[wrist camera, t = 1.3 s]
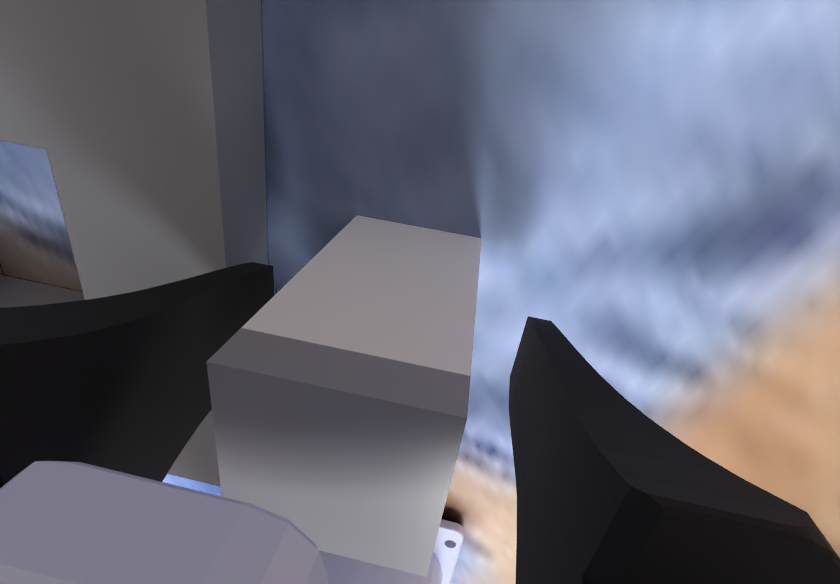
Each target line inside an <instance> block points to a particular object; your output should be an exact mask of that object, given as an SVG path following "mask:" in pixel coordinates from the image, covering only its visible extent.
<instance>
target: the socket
mask: <svg viewBox="0 0 840 584" xmlns="http://www.w3.org/2000/svg"><path fill="white" fill-rule="evenodd" d="M0 141H6V142H11V143H17V144H22V145H27V146H33V147H38V148H44V149H47V153H48V157H49V161H50V165H51V169H52V173H53V177H54V181H55V185H56V189H57V193H58V197H59V201H60V204H61V208H62V212H63V216H64V220H65V224H66V228H67V232H68V236H69V240H70V244H71V248H72V252H73V256H74V260H75V264H76V267H77V271H78V275H79V279H80V283H81V287H82V291H83V292H80V291H76V290H71V289H66V288H61V287H56V286H52V285H47V284H42V283H37V282H33V281H28V280H23V279H18V278H14V277H9V276H4V275H3V273H2V270H1V267H0V308H5V307H21V306H35V305H45V304H54V303H63V302H71V301H80V300H88V299H95V298H101V297H107V296H113V295H119V294H124V293H129V292H134V291H139V290H144V289H148V288H152V287H156V286H160V285H164V284H168V283H172V282H176V281H180V280H184V279H187V278H191V277H195V276H198V275H202V274H205V273H209V272H212V271H216V270H219V269H223V268H227V267H231V266H235V265H239V264H243V263H250V262H255V263H260V264H265V265H268V241H267V204H266V167H265V131H264V94H263V57H262V20H261V0H0ZM167 474H171V475H175V476H179V477H183V478H187V479H192V480H196V481H200V482H204V483H208V484H212V485H216V486H220V477H219V468H218V459H217V450H216V441H215V433H214V424H213V415H212V410H211V411H210V412H209V413H208V415H207V416H206V417H205V418H204V420H203V421H202V422H201V424H200V425H199V426H198V428H197V429H196V431H195V432H194V434H193V435H192V437H191V438H190V440H189V441H188V442H187V444H186V445H185V447H184V448H183V450H182V451H181V453H180V454H179V456H178V457H177V459H176V460H175V462H174V464H173V465H172V467H171V468H170V470H169V471H168V473H167Z"/></svg>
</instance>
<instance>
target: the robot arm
mask: <svg viewBox="0 0 840 584" xmlns="http://www.w3.org/2000/svg"><path fill="white" fill-rule="evenodd" d="M273 296H274V281H273V266H270V265H265V264H260V263H255V262H250V263H243V264H239V265H235V266H231V267H227V268H223V269H219V270H216V271H212V272H209V273H205V274H202V275H198V276H195V277H191V278H187V279H184V280H180V281H176V282H172V283H168V284H164V285H160V286H156V287H152V288H148V289H144V290H139V291H134V292H129V293H124V294H119V295H113V296H107V297H101V298H95V299H88V300H80V301H71V302H63V303H54V304H45V305H35V306H21V307H5V308H0V584H450V582H451V579H452V576H453V572H454V569H455V566H456V562H457V559H458V556H459V552H460V549H461V546H462V542H463V539H464V529H463V527H462V526H461V525H459V524H458V523H455V522H451V521H447V520H443V519H441V523H440V527H439V531H438V535H437V539H436V543H435V547H434V550H433V554H432V558H431V562H430V566H429V570H428V574H427V577H424V576H420V575H416V574H412V573H408V572H404V571H400V570H396V569H392V568H388V567H384V566H380V565H376V564H372V563H368V562H364V561H360V560H356V559H352V558H348V557H344V556H340V555H336V554H332V553H327V552H323V551H319V550H318V548H317V546H316V545H315V543H314V542H313V541H312V540H311V539H310V538H308V537H307V536H306V535H305V534H304V533H303V532H302V531H301V530H300V529H298V528H297V527H296V526H295V525H294V524H293V523H292V522H291V521H290V520H289V519H286V518H284V517H282V516H279V515H277V514H274V513H272V512H270V511H267V510H265V509H263V508H260V507H258V506H255V505H253V504H250V503H246V502H242V501H238V500H234V499H230V498H225V497H221V496H217V495H213V494H209V493H205V492H201V491H197V490H193V489H188V488H184V487H180V486H176V485H172V484H168V483H164V482H162V481H163V479H164V478H165V476H166V475H167V473H168V471H169V470H170V468H171V467H172V465H173V464H174V462H175V460H176V459H177V457H178V456H179V454H180V453H181V451H182V450H183V448H184V447H185V445H186V444H187V442H188V441H189V440H190V438H191V437H192V435H193V434H194V432H195V431H196V429H197V428H198V426H199V425H200V424H201V422H202V421H203V420H204V418H205V417H206V416H207V415H208V413H209V412H210V411H211V410H212V406H211V397H210V388H209V379H208V370H207V361H208V360H209V359H210V358H211V357H212V356H213V355H214V354H215V353H216V352H217V351H218V350H219V349H220V348H221V347H222V346H223V345H224V344H225V343H226V342H227V341H228V340H229V339H230V338H231V337H232V336H233V335H234V334H235V333H236V332H237V331H238V330H239V329H240V328H242V327H243V326H244V325H245V324H246V323H247V322H248V321H249V320H250V319H251V318H252V317H253V316H254V315H255V314H256V313H257V312H258V311H259V310H260V309H261V308H262V307H263V306H264V305H265V304H266V303H267V302H268V301H269V300H270V299H271V298H272V297H273ZM509 416H510V426H511V436H512V446H513V456H514V465H515V475H516V488H517V554H516V584H840V558H839V556H838V555H837V554H836V552H835V551H834V549H833V548H832V547H831V545H830V544H829V542H828V541H827V540H826V538H825V537H824V535H823V534H822V533H821V531H820V530H819V528H818V527H817V526H816V524H815V523H814V521H813V520H812V519H811V517H810V516H809V514H808V513H807V512H805V511H803V510H801V509H800V508H798V507H796V506H794V505H792V504H790V503H788V502H786V501H784V500H782V499H780V498H778V497H776V496H775V495H773V494H771V493H769V492H767V491H765V490H763V489H761V488H759V487H757V486H755V485H753V484H751V483H750V482H748V481H746V480H744V479H742V478H740V477H739V476H737V475H735V474H733V473H732V472H730V471H728V470H727V469H725V468H723V467H722V466H720V465H718V464H717V463H715V462H713V461H711V460H710V459H708V458H706V457H705V456H703V455H702V454H700V453H699V452H697V451H695V450H694V449H692V448H691V447H689V446H688V445H686V444H685V443H683V442H682V441H680V440H679V439H677V438H676V437H675V436H673V435H672V434H670V433H669V432H667V431H666V430H665V429H663V428H662V427H660V426H659V425H658V424H656V423H655V422H654V421H652V420H651V419H650V418H648V417H647V416H646V415H644V414H643V413H642V412H641V411H640V410H638V409H637V408H636V407H635V406H634V405H632V404H631V403H630V402H629V401H627V400H626V399H625V398H624V397H623V396H622V395H621V394H619V393H618V392H617V391H616V390H615V389H614V388H613V387H612V386H611V385H610V384H609V383H608V382H607V381H606V380H605V379H604V378H603V377H602V376H600V375H599V374H598V373H597V371H596V370H595V369H594V368H593V367H592V366H591V365H590V364H589V363H588V362H587V361H586V360H585V359H584V358H583V357H582V355H581V354H580V353H579V352H578V351H577V350H576V349H575V348H574V346H573V345H572V344H571V343H570V342H569V341H568V340H567V338H566V337H565V336H564V335H563V334H562V333H561V331H560V330H559V329H558V328H557V327H556V326H555V325H554V324H553V323H552V322H551V321H548V320H543V319H538V318H533V317H528V318H527V321H526V325H525V328H524V331H523V335H522V338H521V342H520V345H519V348H518V352H517V355H516V358H515V362H514V365H513V368H512V372H511V375H510V388H509Z"/></svg>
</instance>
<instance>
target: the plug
mask: <svg viewBox="0 0 840 584" xmlns="http://www.w3.org/2000/svg"><path fill="white" fill-rule="evenodd" d="M480 250H481V238H477V237H472V236H467V235H461V234H456V233H450V232H445V231H440V230H434V229H429V228H423V227H418V226H413V225H407V224H402V223H396V222H391V221H386V220H380V219H375V218H369V217H364V216H359V215H357V216H356V217H354V218H353V219H352V220H351V221H350V222H349V223H348V224H347V225H346V226H345V227H344V228H343V229H342V230H341V231H340V232H339V233H338V234H337V235H336V236H335V237H334V238H333V239H332V240H331V241H330V242H329V243H328V244H327V245H326V246H325V247H324V248H323V249H322V250H321V251H320V252H319V253H318V254H316V255H315V256H314V257H313V258H312V259H311V260H310V261H309V262H308V263H307V264H306V265H305V266H304V267H303V268H302V269H301V270H300V271H299V272H298V273H297V274H296V275H295V276H294V277H293V278H292V279H291V280H290V281H289V282H288V283H287V284H286V285H285V286H284V287H283V288H282V289H281V290H280V291H278V292H277V293H276V294H275V295H274V296H273V297H272V298H271V299H270V300H269V301H268V302H267V303H266V304H265V305H264V306H263V307H262V308H261V309H260V310H259V311H258V312H257V313H256V314H255V315H254V316H253V317H252V318H251V319H250V320H249V321H248V322H247V323H246V324H245V325H244V326H243V327H242V328H240V329H239V330H238V331H237V332H236V333H235V334H234V335H233V336H232V337H231V338H230V339H229V340H228V341H227V342H226V343H225V344H224V345H223V346H222V347H221V348H220V349H219V350H218V351H217V352H216V353H215V354H214V355H213V356H212V357H211V358H210V359H209V360H208V361H207V370H208V379H209V388H210V397H211V406H212V415H213V424H214V433H215V441H216V450H217V459H218V468H219V477H220V486H221V495H222V497H225V498H230V499H234V500H238V501H242V502H246V503H250V504H253V505H255V506H258V507H260V508H263V509H265V510H267V511H270V512H272V513H274V514H277V515H279V516H282V517H284V518H286V519H289V520H290V521H291V522H292V523H293V524H294V525H295V526H296V527H297V528H298V529H300V530H301V531H302V532H303V533H304V534H305V535H306V536H307V537H308V538H310V539H311V540H312V541H313V542H314V543H315V545H316V546H317V548H318V550H319V551H323V552H327V553H332V554H336V555H340V556H344V557H348V558H352V559H356V560H360V561H364V562H368V563H372V564H376V565H380V566H384V567H388V568H392V569H396V570H400V571H404V572H408V573H412V574H416V575H420V576H424V577H427V574H428V570H429V566H430V562H431V558H432V554H433V550H434V547H435V543H436V539H437V535H438V531H439V527H440V523H441V519H442V515H443V511H444V507H445V503H446V499H447V495H448V491H449V487H450V483H451V479H452V475H453V472H454V468H455V464H456V460H457V456H458V452H459V448H460V444H461V440H462V436H463V432H464V428H465V424H466V420H467V412H468V399H469V387H470V375H471V362H472V350H473V337H474V325H475V312H476V300H477V288H478V275H479V263H480Z"/></svg>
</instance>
